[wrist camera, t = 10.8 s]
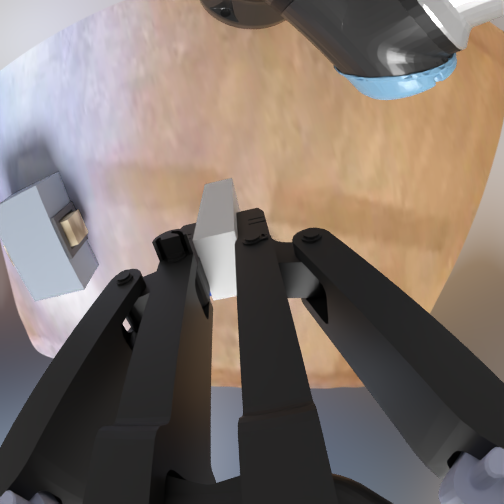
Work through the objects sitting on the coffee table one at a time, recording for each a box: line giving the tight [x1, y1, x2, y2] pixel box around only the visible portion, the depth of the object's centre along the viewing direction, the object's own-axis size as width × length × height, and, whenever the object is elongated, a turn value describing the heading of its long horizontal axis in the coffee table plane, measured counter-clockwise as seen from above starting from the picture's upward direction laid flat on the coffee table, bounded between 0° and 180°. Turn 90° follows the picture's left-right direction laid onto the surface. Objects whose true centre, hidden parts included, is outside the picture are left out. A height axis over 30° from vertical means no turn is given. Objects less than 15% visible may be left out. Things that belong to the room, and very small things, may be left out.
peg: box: [4, 209, 88, 266], centre depth 43 cm, size 4×16×4 cm, turn 103°
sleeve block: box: [0, 172, 98, 301], centre depth 43 cm, size 18×13×8 cm
